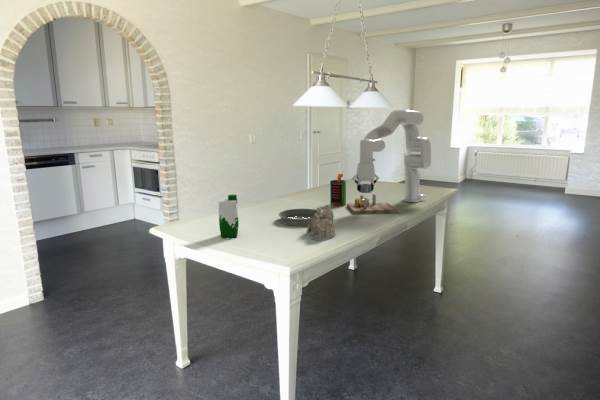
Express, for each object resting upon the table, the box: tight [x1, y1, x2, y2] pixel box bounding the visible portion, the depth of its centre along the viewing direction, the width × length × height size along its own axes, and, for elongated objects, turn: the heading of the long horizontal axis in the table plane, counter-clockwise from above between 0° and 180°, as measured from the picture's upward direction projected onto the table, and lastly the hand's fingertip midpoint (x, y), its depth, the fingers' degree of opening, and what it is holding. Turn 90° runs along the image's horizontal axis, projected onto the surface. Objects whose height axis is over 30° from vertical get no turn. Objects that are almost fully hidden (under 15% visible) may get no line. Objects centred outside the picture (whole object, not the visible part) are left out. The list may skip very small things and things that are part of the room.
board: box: [346, 194, 398, 215], centre depth 249 cm, size 26×20×8 cm
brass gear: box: [354, 197, 370, 207], centre depth 253 cm, size 9×9×4 cm
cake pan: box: [278, 208, 323, 227], centre depth 225 cm, size 25×25×4 cm
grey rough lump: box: [305, 204, 337, 242], centre depth 196 cm, size 16×16×15 cm
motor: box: [329, 173, 347, 207], centre depth 264 cm, size 10×9×20 cm
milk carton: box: [218, 194, 239, 239], centre depth 196 cm, size 9×9×20 cm
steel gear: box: [359, 183, 372, 194], centre depth 242 cm, size 7×7×4 cm
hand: (365, 190), depth 242 cm, fingers closed on steel gear, 6 cm apart
